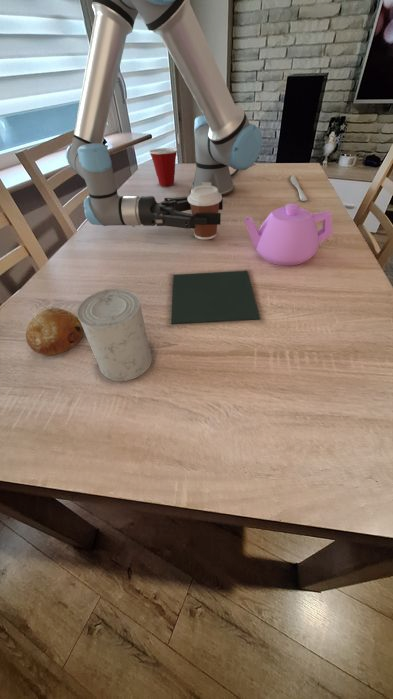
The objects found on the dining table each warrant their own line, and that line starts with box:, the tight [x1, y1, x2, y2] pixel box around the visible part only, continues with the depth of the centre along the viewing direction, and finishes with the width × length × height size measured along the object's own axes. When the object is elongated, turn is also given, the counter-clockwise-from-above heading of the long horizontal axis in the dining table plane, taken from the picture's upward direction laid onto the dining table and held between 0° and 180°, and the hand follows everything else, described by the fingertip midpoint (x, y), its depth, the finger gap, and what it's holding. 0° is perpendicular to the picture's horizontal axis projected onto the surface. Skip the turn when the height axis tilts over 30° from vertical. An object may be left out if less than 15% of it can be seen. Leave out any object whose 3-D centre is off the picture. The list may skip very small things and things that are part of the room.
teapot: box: [243, 202, 334, 267], centre depth 74 cm, size 22×16×12 cm
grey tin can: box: [76, 288, 153, 382], centre depth 50 cm, size 10×10×12 cm
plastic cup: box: [148, 147, 178, 187], centre depth 117 cm, size 11×11×12 cm
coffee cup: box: [187, 185, 223, 240], centre depth 82 cm, size 9×9×12 cm
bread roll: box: [25, 306, 84, 356], centre depth 58 cm, size 10×10×8 cm
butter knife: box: [290, 175, 308, 202], centre depth 111 cm, size 1×27×3 cm
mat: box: [170, 270, 261, 325], centre depth 67 cm, size 18×18×1 cm
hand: (221, 211), depth 82 cm, fingers closed on coffee cup, 9 cm apart
